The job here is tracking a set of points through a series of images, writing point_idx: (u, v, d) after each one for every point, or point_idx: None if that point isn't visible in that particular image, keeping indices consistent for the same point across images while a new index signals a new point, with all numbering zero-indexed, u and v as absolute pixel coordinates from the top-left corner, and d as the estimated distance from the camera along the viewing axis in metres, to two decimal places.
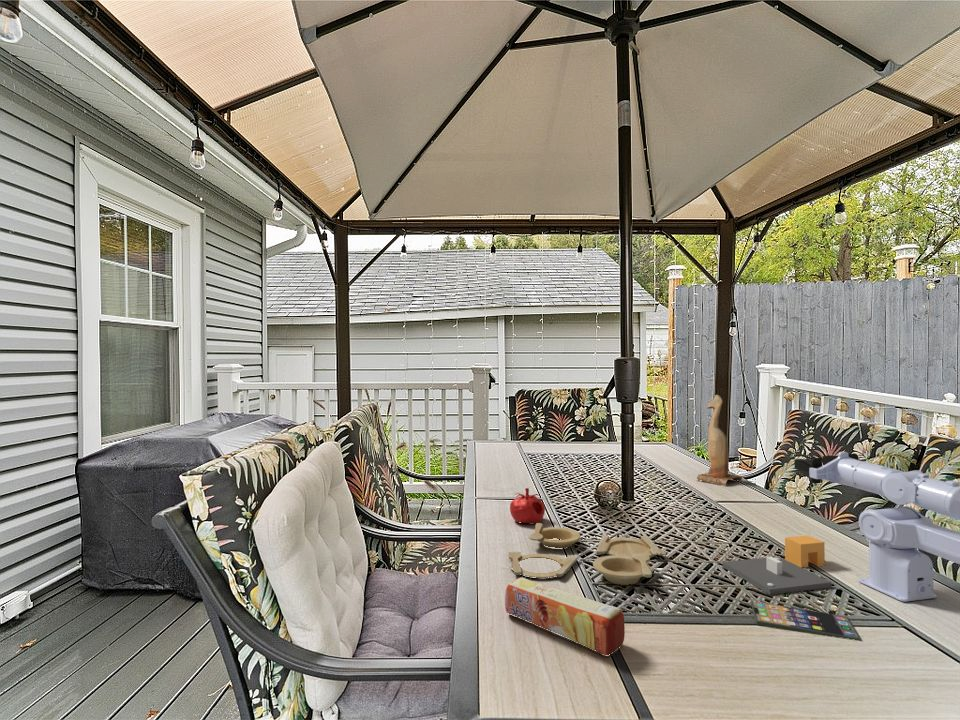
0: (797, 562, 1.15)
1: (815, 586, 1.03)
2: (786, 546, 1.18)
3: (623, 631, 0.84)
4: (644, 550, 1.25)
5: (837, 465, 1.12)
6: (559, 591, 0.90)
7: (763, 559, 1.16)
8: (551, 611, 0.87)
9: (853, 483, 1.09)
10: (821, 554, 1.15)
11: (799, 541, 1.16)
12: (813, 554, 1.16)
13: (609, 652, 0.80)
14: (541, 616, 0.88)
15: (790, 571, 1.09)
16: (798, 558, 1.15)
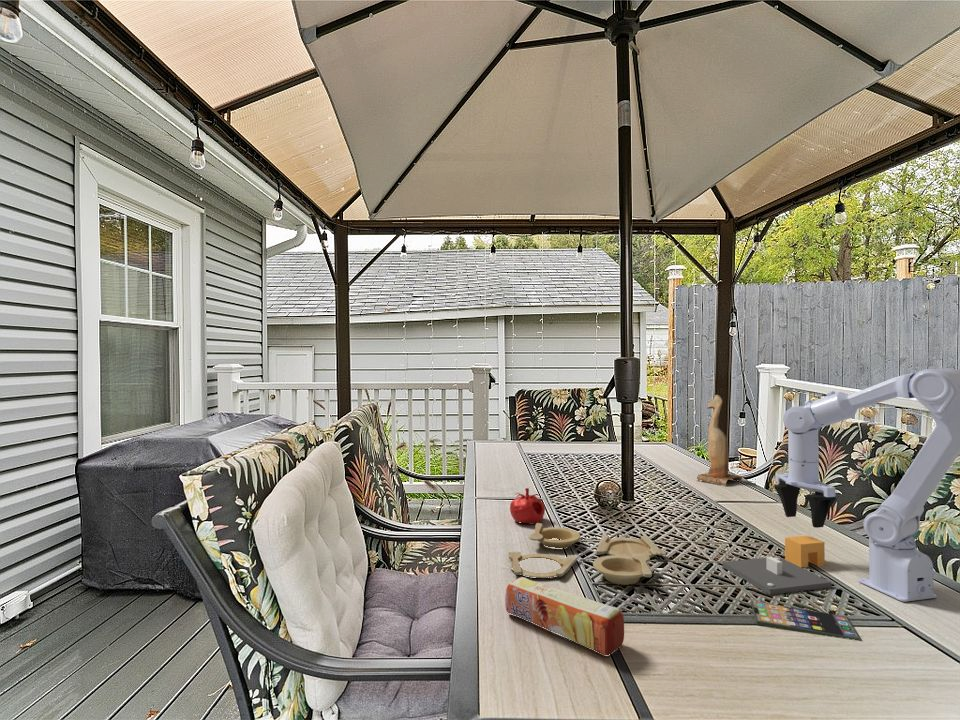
0: (797, 562, 1.15)
1: (815, 586, 1.03)
2: (786, 546, 1.18)
3: (623, 631, 0.83)
4: (644, 550, 1.25)
5: (806, 480, 1.14)
6: (559, 591, 0.90)
7: (763, 559, 1.16)
8: (551, 611, 0.87)
9: (817, 462, 1.15)
10: (821, 554, 1.15)
11: (799, 541, 1.16)
12: (813, 554, 1.16)
13: (608, 652, 0.80)
14: (540, 616, 0.88)
15: (790, 571, 1.09)
16: (798, 558, 1.15)
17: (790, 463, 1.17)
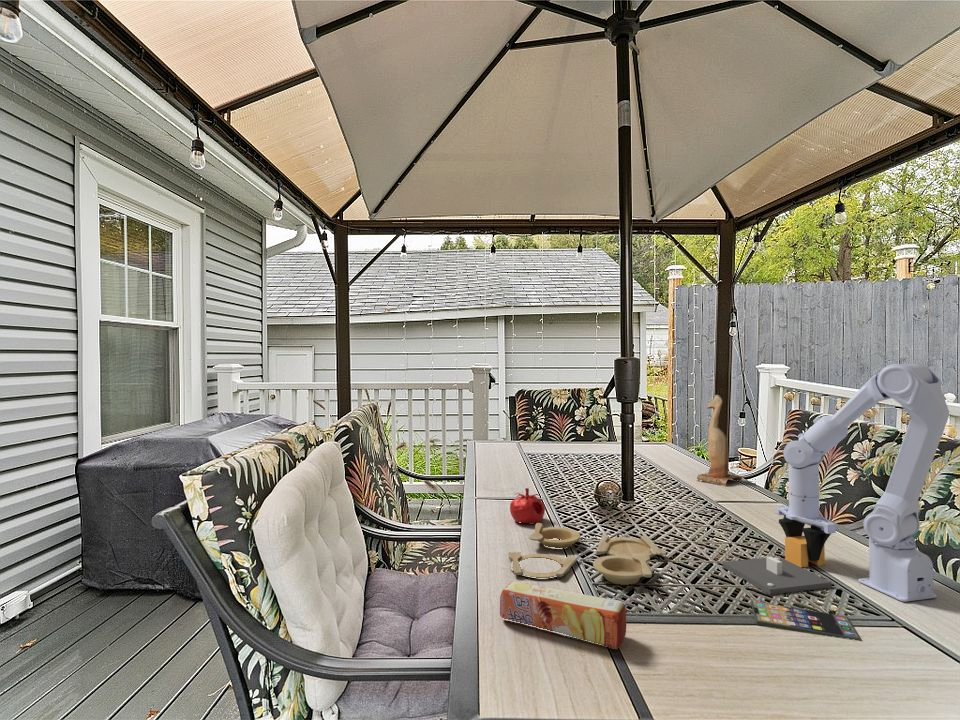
0: (797, 562, 1.15)
1: (815, 586, 1.03)
2: (786, 546, 1.18)
3: None
4: (644, 550, 1.25)
5: (806, 515, 1.14)
6: (558, 591, 0.90)
7: (763, 559, 1.16)
8: (555, 611, 0.86)
9: (818, 497, 1.15)
10: None
11: (799, 541, 1.16)
12: None
13: (619, 645, 0.82)
14: (543, 618, 0.88)
15: (790, 571, 1.09)
16: (798, 558, 1.15)
17: (790, 497, 1.17)
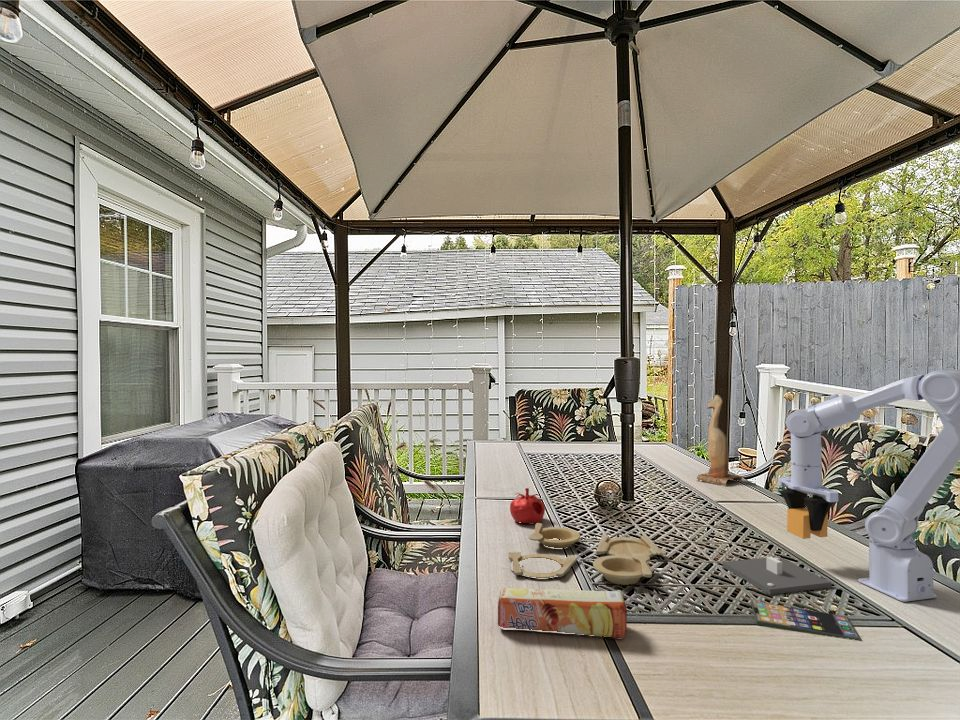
0: (799, 533, 1.13)
1: (815, 586, 1.03)
2: (788, 518, 1.16)
3: None
4: (644, 550, 1.25)
5: (808, 485, 1.13)
6: (556, 590, 0.90)
7: (763, 559, 1.16)
8: (562, 611, 0.86)
9: (820, 467, 1.13)
10: (823, 525, 1.13)
11: (802, 513, 1.14)
12: None
13: None
14: (549, 620, 0.87)
15: (790, 571, 1.09)
16: (800, 529, 1.13)
17: (792, 467, 1.15)
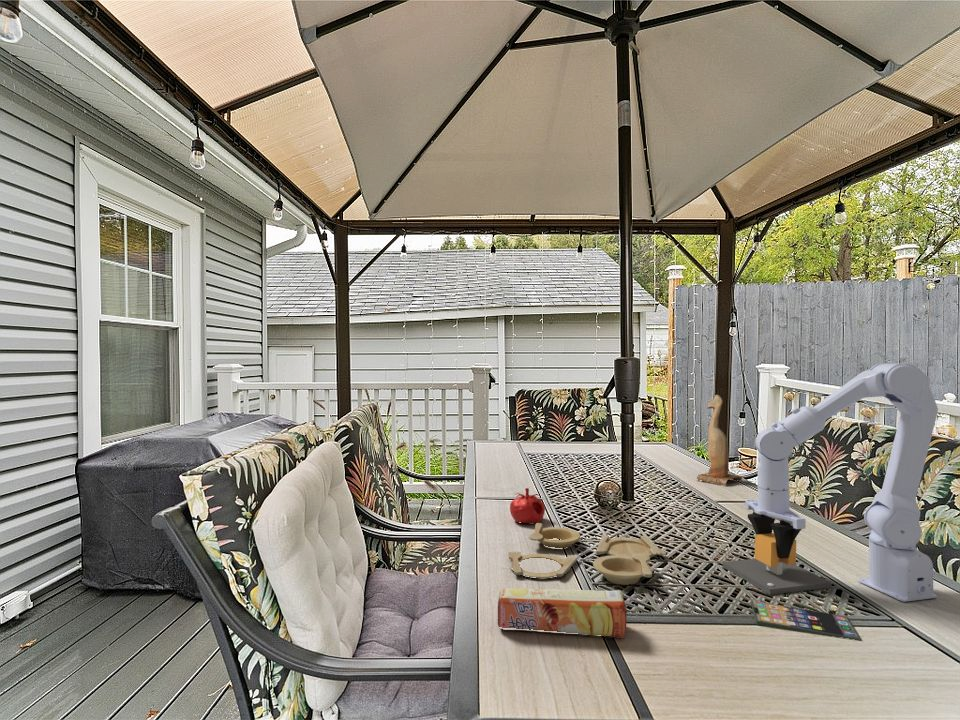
0: (767, 561, 1.08)
1: (815, 586, 1.03)
2: (756, 544, 1.11)
3: None
4: (644, 550, 1.25)
5: (775, 510, 1.07)
6: (555, 590, 0.90)
7: None
8: (562, 611, 0.86)
9: (788, 491, 1.07)
10: (792, 553, 1.08)
11: (770, 539, 1.08)
12: None
13: None
14: (549, 620, 0.87)
15: (790, 571, 1.09)
16: (768, 557, 1.07)
17: (759, 491, 1.10)
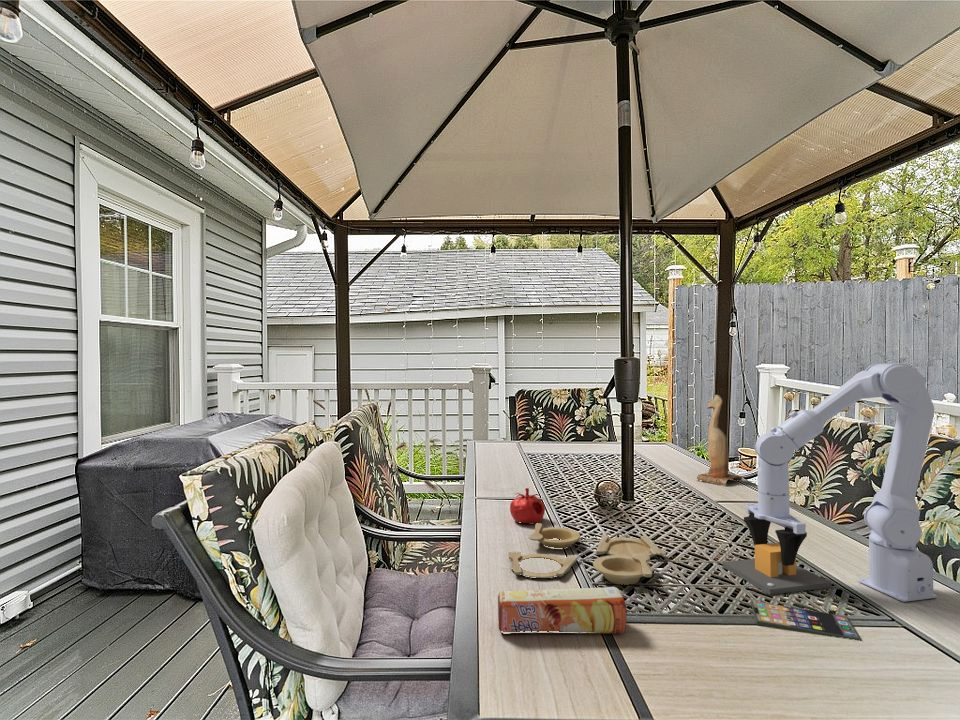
0: (767, 571, 1.08)
1: (815, 586, 1.03)
2: (756, 554, 1.11)
3: None
4: (644, 550, 1.25)
5: (775, 515, 1.07)
6: (554, 590, 0.90)
7: None
8: (564, 611, 0.87)
9: (788, 495, 1.07)
10: None
11: (769, 549, 1.08)
12: None
13: (624, 628, 0.87)
14: (551, 621, 0.87)
15: None
16: (768, 567, 1.07)
17: (759, 495, 1.10)
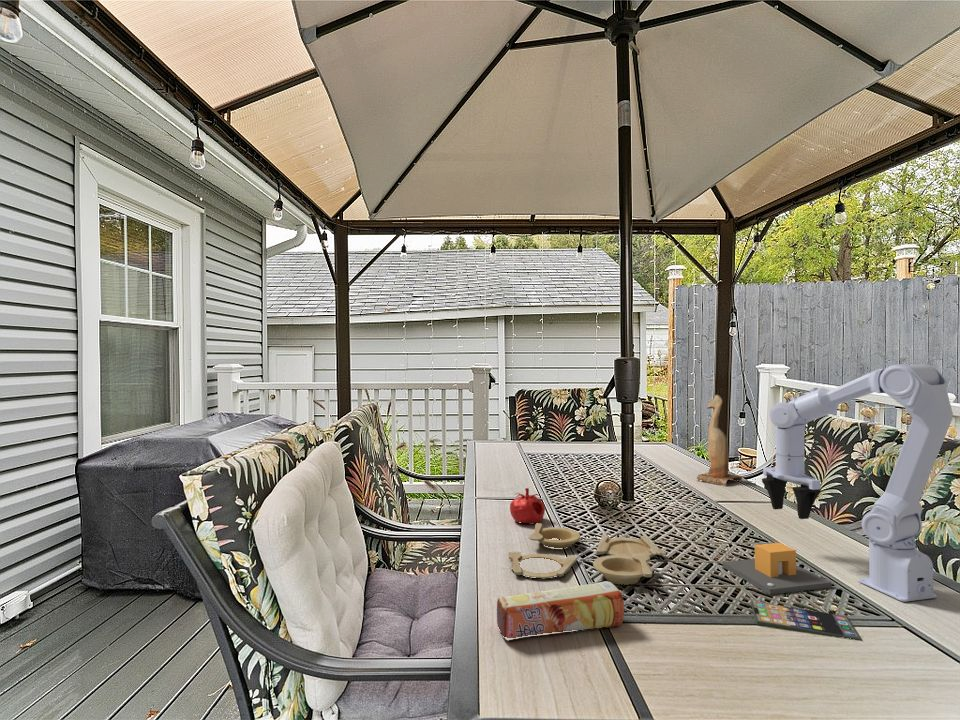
0: (767, 571, 1.08)
1: (815, 586, 1.03)
2: (756, 554, 1.11)
3: None
4: (644, 550, 1.25)
5: (792, 474, 1.19)
6: (553, 591, 0.90)
7: None
8: (568, 610, 0.87)
9: (803, 457, 1.19)
10: (792, 563, 1.08)
11: (769, 549, 1.08)
12: (784, 563, 1.09)
13: None
14: (555, 621, 0.86)
15: None
16: (768, 567, 1.07)
17: (777, 457, 1.21)
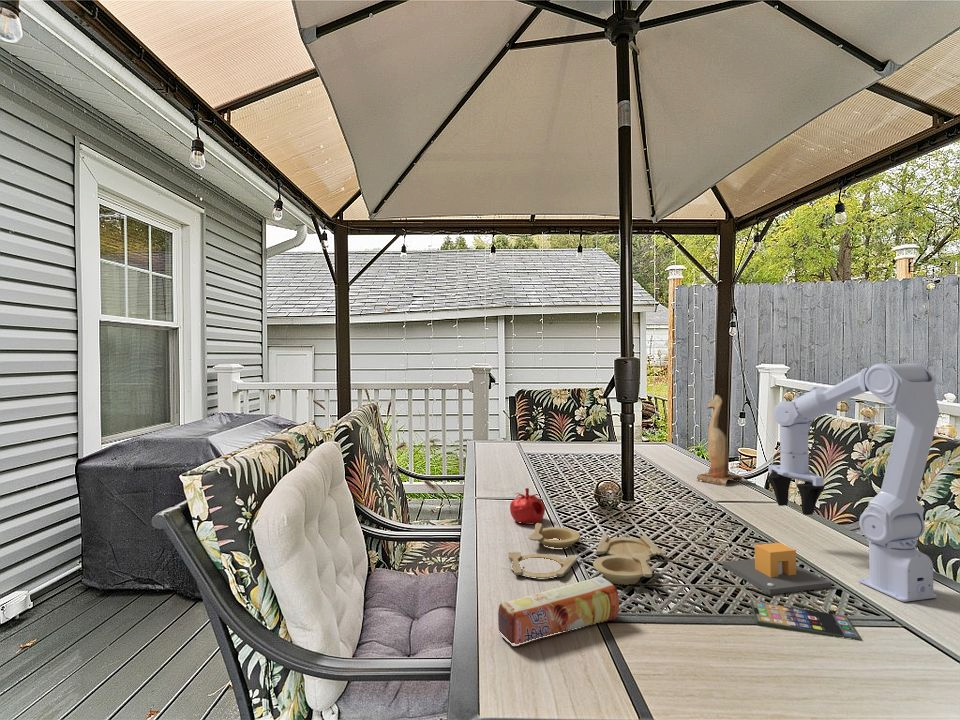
0: (767, 571, 1.08)
1: (815, 586, 1.03)
2: (756, 554, 1.11)
3: None
4: (644, 550, 1.25)
5: (796, 471, 1.22)
6: (552, 591, 0.90)
7: None
8: (571, 609, 0.87)
9: (807, 454, 1.22)
10: (792, 563, 1.08)
11: (769, 549, 1.08)
12: (784, 563, 1.09)
13: None
14: (560, 621, 0.86)
15: None
16: (768, 567, 1.07)
17: (782, 455, 1.24)
